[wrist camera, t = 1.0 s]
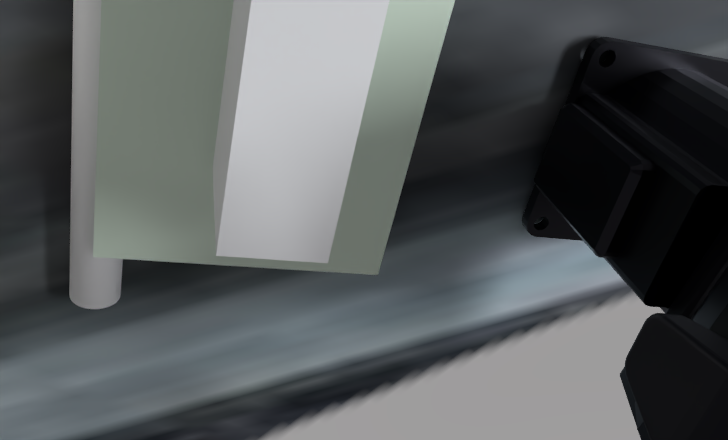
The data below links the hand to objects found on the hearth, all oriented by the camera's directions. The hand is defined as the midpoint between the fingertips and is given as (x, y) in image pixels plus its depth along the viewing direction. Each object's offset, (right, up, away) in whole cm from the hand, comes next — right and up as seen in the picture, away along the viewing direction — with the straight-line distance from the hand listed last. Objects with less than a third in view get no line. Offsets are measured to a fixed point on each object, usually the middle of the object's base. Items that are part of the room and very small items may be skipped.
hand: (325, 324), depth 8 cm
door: (-2, +6, +10) cm, 12 cm away
